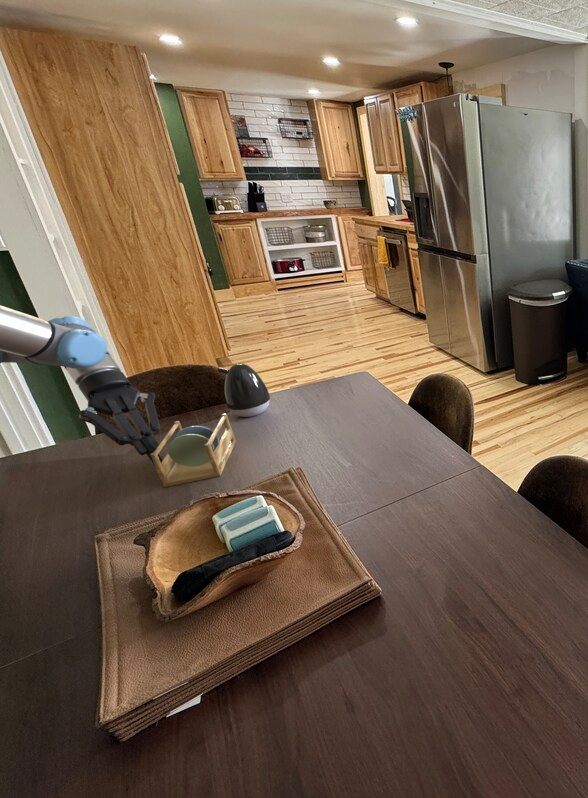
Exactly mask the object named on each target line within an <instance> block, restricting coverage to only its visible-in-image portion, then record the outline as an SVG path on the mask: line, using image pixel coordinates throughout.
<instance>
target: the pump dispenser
mask: <svg viewBox="0 0 588 798" xmlns="http://www.w3.org/2000/svg"><path fill="white" fill-rule="evenodd" d="M216 370H217V372H219V373H221V374H223V375H224V374H225V380H224V398H225V404H226V407H227V409H229V410H230V411H231V412H232V413H233V414H234V415H236V416H238V417H243V418H252V417H254V416H258V415H260V414H262V413H264V412H265V411H266V410H267V409H268V408H269V405H270V400H271V395H270V392H269V389H268V387H267V386H266V384H265V382H264V381H263V379H262V378H261V376H260V375H259V374H258V372H256V371H255V370H254V369H253V368H252V367H251V366H250V365H249V364H246V363H235V364H233V365H232V366H230V367H229V368H223V367H218V368H217V369H216Z"/></svg>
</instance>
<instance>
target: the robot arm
mask: <svg viewBox="0 0 588 798" xmlns="http://www.w3.org/2000/svg"><path fill="white" fill-rule="evenodd" d="M2 363H4V364H5V363H6V364H7V363H8V364H9V363H10V364H11V363H13V364H14V363H15V364H28V365H38V366H39V365H43V366H54V367H55V366H56V367H63V368H64V369H65V370H66V371H67V373H68V375H69V376H70V377H71V379H72V380H73V382H74V383H75V384H76V386H77V387H78V389H79V391H80V392H81V393H82V395H83V396H84V398H85V399H86V400H87V407H86V408H85V409H82V410H80V411H79V420H80V421H82V422H85V423H88V424H91V425H92V426H93V427H95V428H96V429H98V430H99V431H100V432H101V433H102V434H104V435H105V436H106V437H107V438H109V439H111V440H112V441H113V442H114V443H115V444H117V445H119V446H125V445H130V446H132V447H133V448H135V450H136V452H137V453H138V454H139V455H140V456H144V455H147V457H148V459H149V460H150V461H151V463H152V464H153V466H154V467H155V465H154V462H153V460H152V458H151V455H150V454H151V453H154V451H155V450H156V449H157V447H158V446H159V445H160V443H158V441H157V440H156V438H155V436H156V435H158V434H159V432H160V428H161V426H160V423H159V418H158V413H157V409H156V406H155V405H156V404H155V398H156V393H155V392H154V391H150V392H148V393H145V392H140V390H139V389H137V388H135V387H133V385H132V384H131V382H130V380H129V379H128V377H126V375H125V373H124V372H122V369H121V368H120V366H119V365H118V364H117V362H116V360H115V359H114V358H113V357H112V355H111V353H110V352H109V351H108V344H107V342H106V341H105V339H104V338H103V337H102V336H101V335H100V334H98V333H97V332H96V330H94V329H93V327H92V326H90V324H89V323H88V322H87V321H86V320H85V319H83V318H81V317H78V316H72V315H71V316H70V315H69V316H66V315H65V316H64V317H55V318H52V319H50V320H45V319H43V318H39V317H36V316H34V315H30V314H28V313H25V312H22V311H18V310H15V309H13V308H10V307H7V306H4V305H1V304H0V364H2ZM139 400H141V403H143V404H144V405H145V412H146V417H147V420H148V424H147V422H146V421H145V420H144V419H143V417H142V415H141V414H140V412H139V410H138V409H137V404H138V402H139ZM98 413H99V414H102V415H105V416H109V417H110V418H111V419H112V421H113V422H114V423H115V424H116V425H117V426H118V428H119V429H120V430H121V431H120V430H119V429H117V428H116V427H115V426H113V425H112V424H111V423H110V422H108V421H107V420H106V419H104V418H103V417H102V416H101V415H99V414H98ZM124 414H125V415H126V416H127V417H128V418H129V419H130V421H131V422H130V421H129V420H128V419H127V417H126V416H125V415H124ZM131 423H132V424H133V426H134V427H135V428H134V427H133V426H132V424H131ZM148 425H149V426H148ZM135 429H136V430H137V431H136V430H135ZM138 433H139V434H138ZM158 457H159V460H160V462H161V463H162V461H163V458H162V457H161V456H160V453H158Z"/></svg>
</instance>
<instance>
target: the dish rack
mask: <svg viewBox="0 0 588 798" xmlns="http://www.w3.org/2000/svg"><path fill="white" fill-rule="evenodd" d="M223 425H224V426H225V430H224V432H223V434H222V436H221V438H220V439H219V436H218V433H219V431H220V429H221V428H222V426H223ZM175 431H176V432H177V434H176V435H175V436H174V439H173V440H172V441H171V442H170V444H169V445H168V448H167V454H166V455H165V457H164V458H163V459H162V463H161V462H160V460H159V457H158V454H160V452H161V451H162V449H163V448H164V446H165V445H166V444H167V443H168V441H169V439H170V438H171V437H172V435H173V434H174V432H175ZM236 443H237V441H236V437H235V434H234V431H233V428H232V426H231V423H230V420H229V417H228V414H227V413H222V414H221V417H220V419H219V421H218V423H217V425H216V427H215V428H214V430H213V429H212V428H209V427H207V426H203V425H191V426H187V427H184V428H183V427H182V424H181V422H180V420H176V421H174V422H173V425H172V427H170V429H169V431H168V432H167V433H166V435H165V437H163V439H162V441H161V442H160V443H159V446H158V447H157V449H156V450H155V451H154V453H151V454H150V455H151V458H152V460H153V462H154V464H153V466H154V465H155V466H154V468H155V469H156V472H157V474H158V477H159V479H160V481H161V483H162V486H163V488H168V487H172V486H178V485H184V484H187V483H192V482H197V481H203V480H207V479H212V478H217V477H221V476H222V473H223V472H224V469H225V467H226V464H227V462H228V461H229V458H230V456H231V454H232V452H233V449H234V447H235V445H236Z"/></svg>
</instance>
